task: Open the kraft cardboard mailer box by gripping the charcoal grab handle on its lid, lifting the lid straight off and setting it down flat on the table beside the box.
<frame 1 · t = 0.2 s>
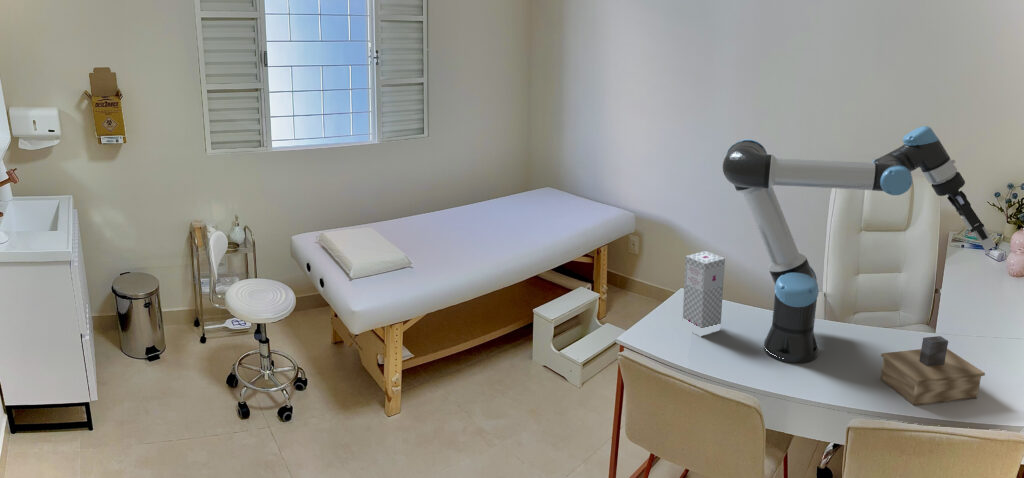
hand: (984, 240, 199), 35 cm above the table, tool tilted 35°, fingers open, 13 cm apart
mailer box: (927, 388, 194), on the table
lid: (931, 365, 191), point 7 cm above the table, touching mailer box
box: (701, 329, 232), on the table
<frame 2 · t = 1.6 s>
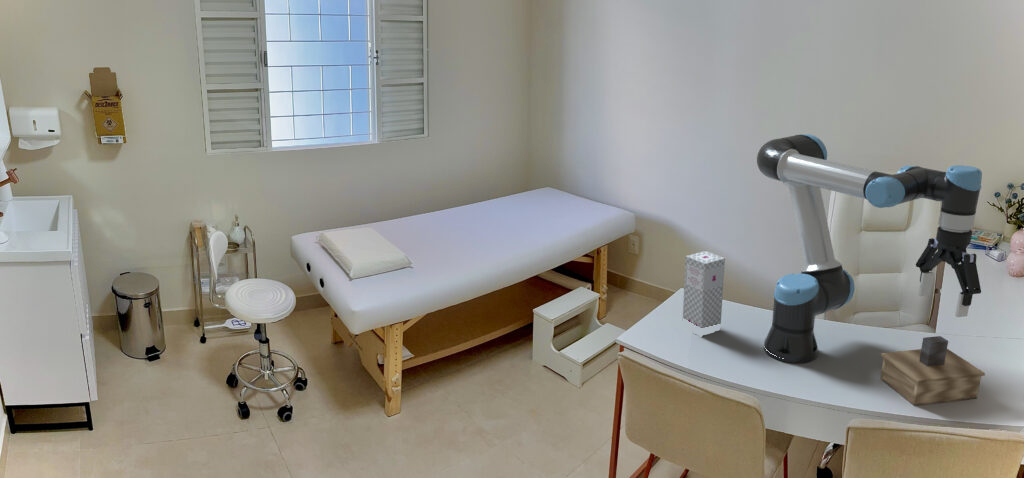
hand: (941, 305, 186), 25 cm above the table, tool pointing down, fingers open, 13 cm apart
nothing on the table moved.
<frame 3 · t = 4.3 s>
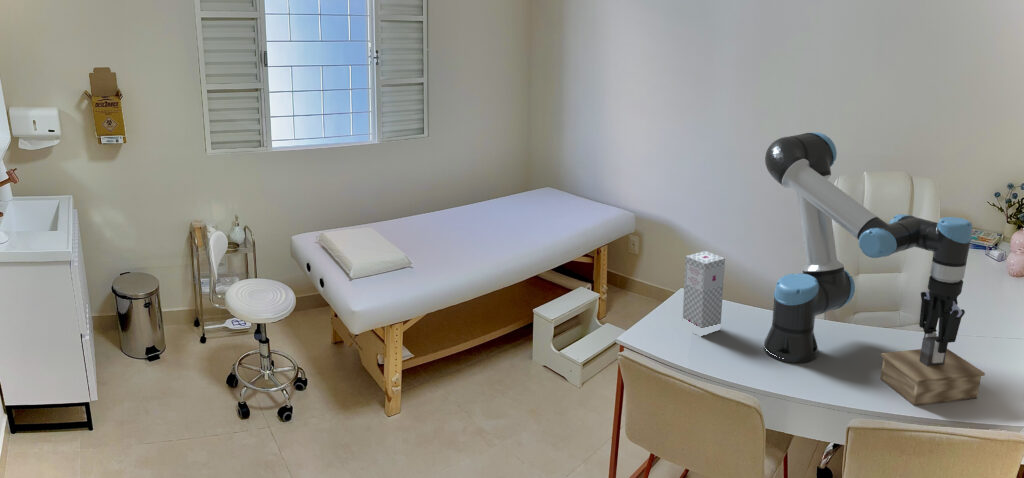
hand: (932, 358, 191), 9 cm above the table, tool pointing down, fingers closed on lid, 3 cm apart
lid: (931, 365, 191), point 7 cm above the table, touching gripper, mailer box
everything else where it was.
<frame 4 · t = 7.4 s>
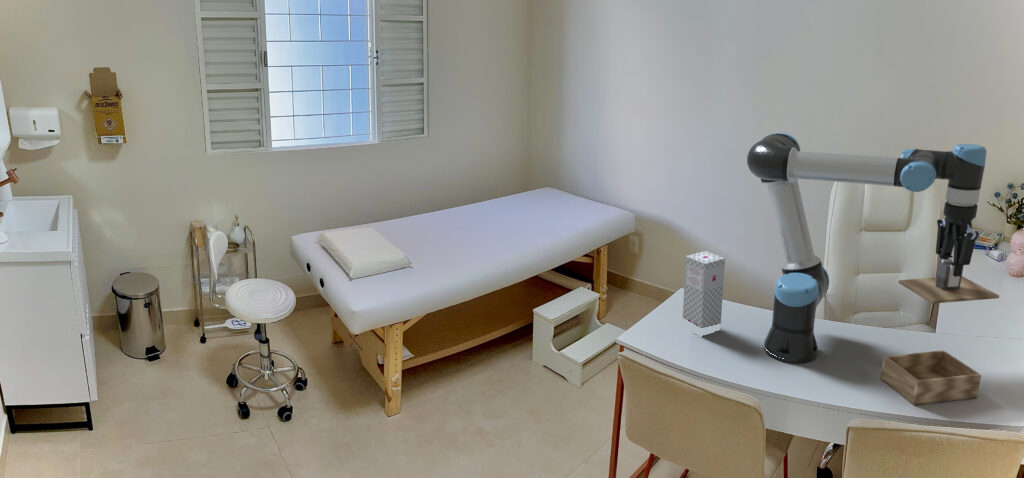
hand: (948, 283, 199), 25 cm above the table, tool pointing down, fingers closed on lid, 3 cm apart
lid: (947, 290, 199), point 23 cm above the table, touching gripper
everything else where it was.
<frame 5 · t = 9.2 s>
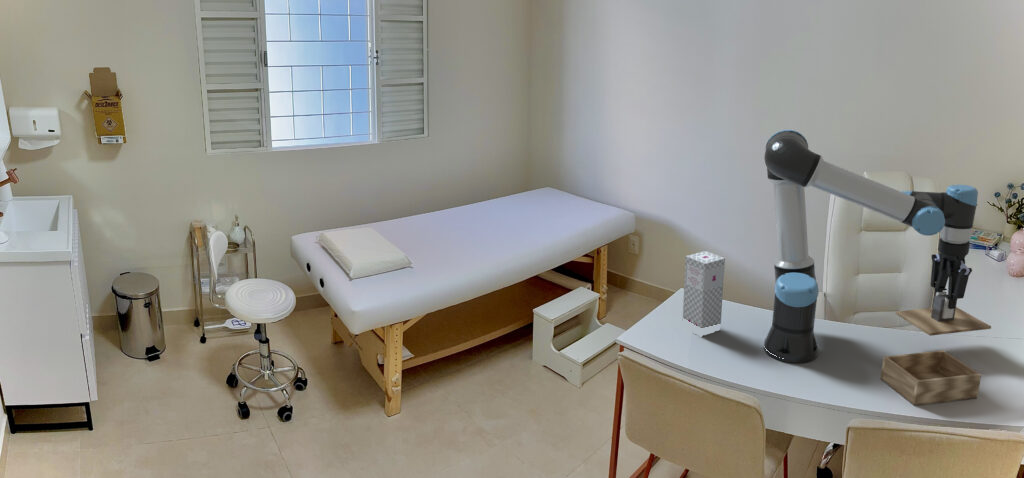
hand: (942, 314, 210), 12 cm above the table, tool pointing down, fingers closed on lid, 3 cm apart
lid: (941, 321, 210), point 10 cm above the table, touching gripper
everything else where it was.
when the fingers open (4 cm above the table, at t = 10.7 s): lid drops 2 cm, on the table.
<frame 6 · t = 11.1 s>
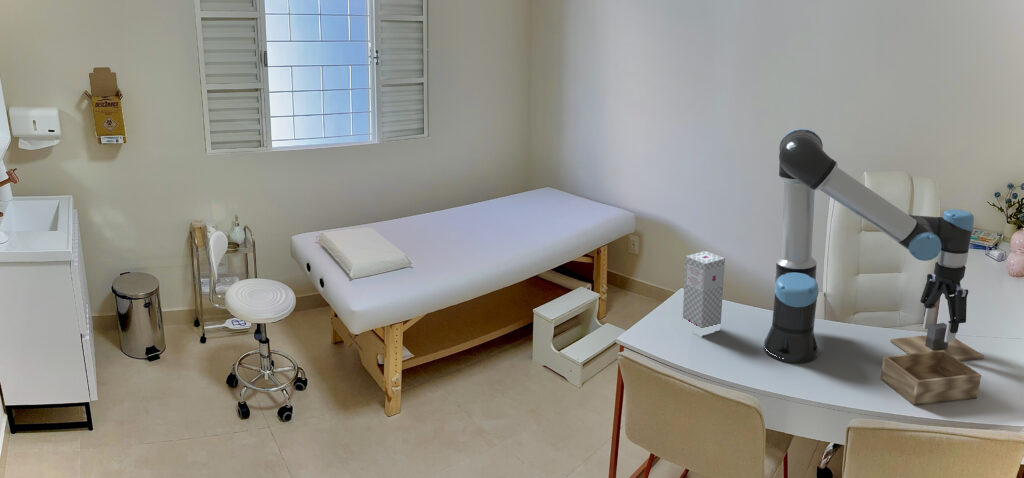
hand: (938, 334, 212), 5 cm above the table, tool pointing down, fingers open, 8 cm apart
lid: (935, 349, 213), on the table
everything else where it was.
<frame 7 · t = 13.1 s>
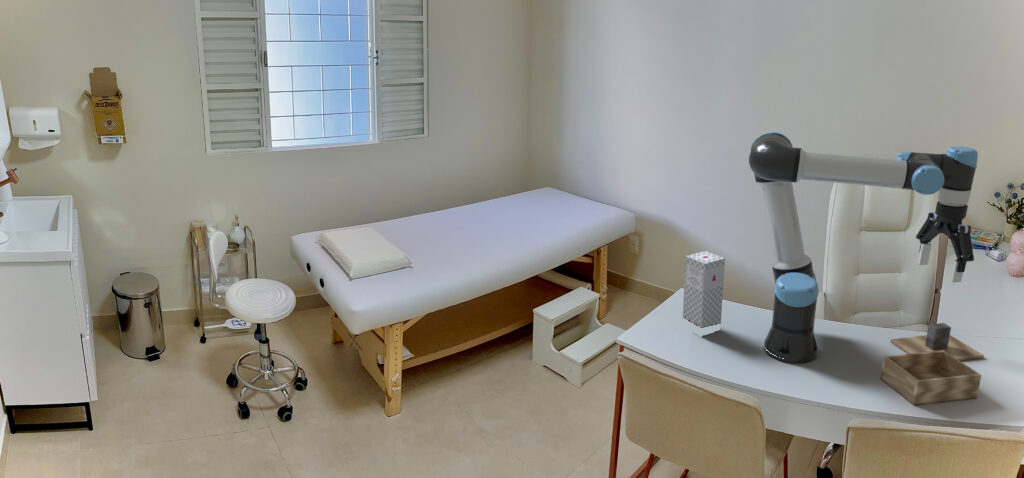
hand: (938, 273, 207), 25 cm above the table, tool pointing down, fingers open, 13 cm apart
nothing on the table moved.
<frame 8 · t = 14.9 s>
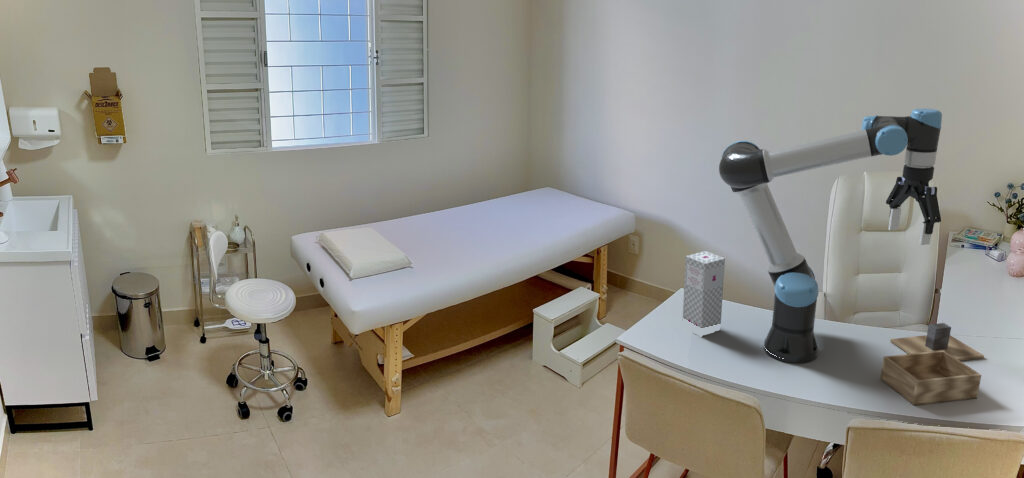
hand: (908, 236, 207), 35 cm above the table, tool pointing down, fingers open, 13 cm apart
nothing on the table moved.
at the end: lid inside the target area (0.0 cm from its centre), on the table; lid tilted 0°; the gripper is holding nothing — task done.
